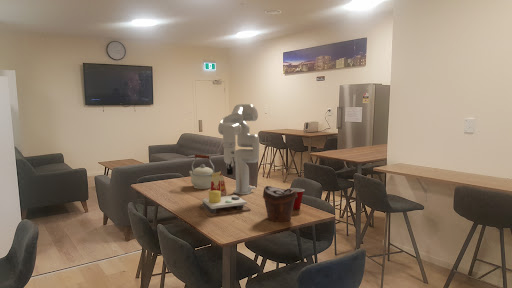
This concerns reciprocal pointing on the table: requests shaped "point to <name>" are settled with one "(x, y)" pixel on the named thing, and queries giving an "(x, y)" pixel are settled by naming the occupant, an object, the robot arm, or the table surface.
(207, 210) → the leveling stand
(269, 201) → the brown flower pot
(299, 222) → the table surface
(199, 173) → the kettle
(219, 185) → the milk carton
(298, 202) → the plastic cup
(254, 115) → the robot arm
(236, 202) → the instrument plate
